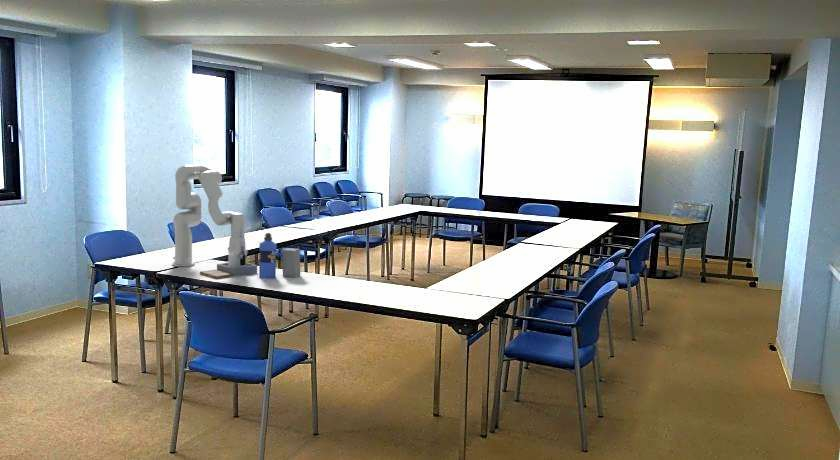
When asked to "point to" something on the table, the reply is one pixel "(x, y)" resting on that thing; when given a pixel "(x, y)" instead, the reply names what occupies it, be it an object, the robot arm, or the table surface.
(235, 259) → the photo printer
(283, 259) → the skincare box
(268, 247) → the water bottle
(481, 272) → the table surface
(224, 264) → the bin
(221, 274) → the board
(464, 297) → the table surface
